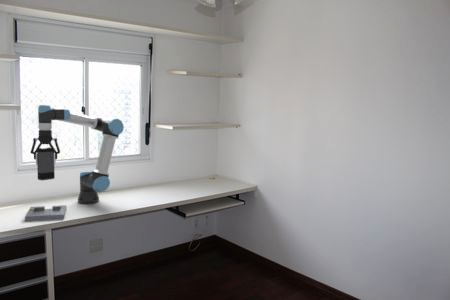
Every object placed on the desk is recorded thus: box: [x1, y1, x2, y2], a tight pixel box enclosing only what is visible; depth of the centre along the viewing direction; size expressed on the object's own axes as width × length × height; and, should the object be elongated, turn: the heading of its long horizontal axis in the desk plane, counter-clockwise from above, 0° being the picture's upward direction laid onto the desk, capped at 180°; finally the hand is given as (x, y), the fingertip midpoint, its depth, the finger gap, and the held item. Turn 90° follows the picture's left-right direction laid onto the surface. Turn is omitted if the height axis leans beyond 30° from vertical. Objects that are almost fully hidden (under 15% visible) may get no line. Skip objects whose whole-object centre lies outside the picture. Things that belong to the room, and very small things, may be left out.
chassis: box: [24, 204, 67, 222], centre depth 246 cm, size 22×22×4 cm
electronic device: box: [36, 147, 56, 181], centre depth 242 cm, size 9×6×20 cm, turn 140°
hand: (45, 164), depth 242 cm, fingers closed on electronic device, 10 cm apart
